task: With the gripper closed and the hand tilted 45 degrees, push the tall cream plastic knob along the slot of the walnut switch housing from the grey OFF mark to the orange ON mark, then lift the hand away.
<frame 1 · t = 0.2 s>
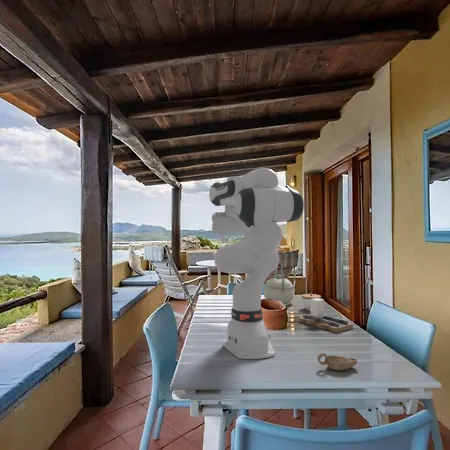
hand: (233, 242, 159), 39 cm above the table, tool pointing down, fingers open, 8 cm apart
oil lamp: (337, 369, 114), on the table
kettle: (278, 303, 213), on the table
switch housing: (324, 324, 164), on the table
switch knob: (317, 308, 168), point 7 cm above the table, slide at 0.0 cm
lidded jar: (311, 309, 196), on the table
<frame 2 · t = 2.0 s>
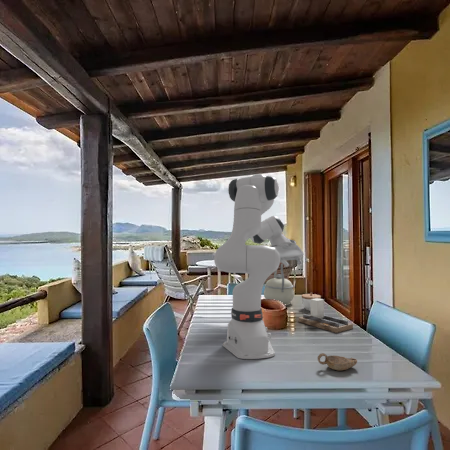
hand: (294, 265, 180), 27 cm above the table, tool tilted 45°, fingers open, 8 cm apart
nothing on the table moved.
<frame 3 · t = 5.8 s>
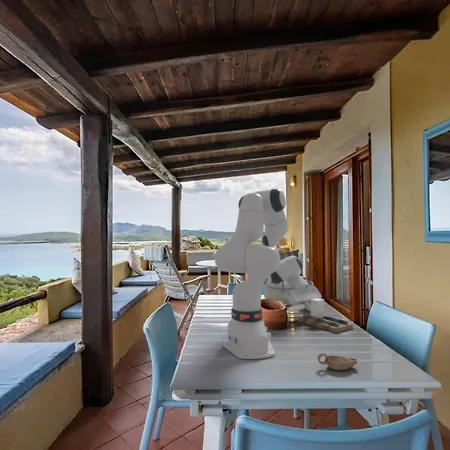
hand: (313, 309, 170), 6 cm above the table, tool tilted 45°, fingers closed, pressing on switch knob
switch knob: (317, 308, 168), point 7 cm above the table, slide at 0.1 cm, touching gripper
everything else where it was.
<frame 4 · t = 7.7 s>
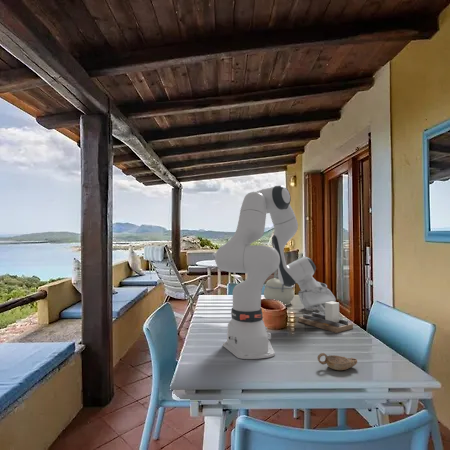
hand: (327, 313, 163), 6 cm above the table, tool tilted 45°, fingers closed, pressing on switch knob
switch knob: (332, 312, 161), point 7 cm above the table, slide at 8.7 cm, touching gripper
everything else where it was.
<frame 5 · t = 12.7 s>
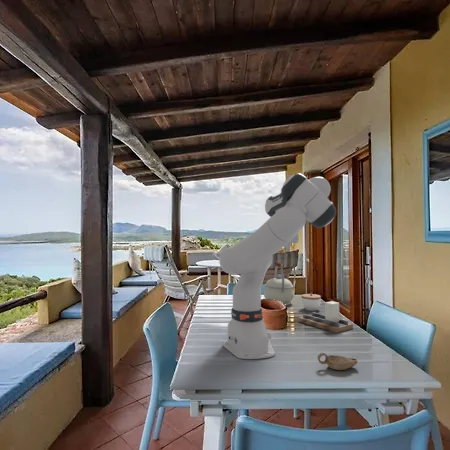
hand: (287, 251, 174), 34 cm above the table, tool pointing down, fingers closed
switch knob: (332, 312, 161), point 7 cm above the table, slide at 8.7 cm
everything else where it was.
at the end: switch knob slide at 8.7 cm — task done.
